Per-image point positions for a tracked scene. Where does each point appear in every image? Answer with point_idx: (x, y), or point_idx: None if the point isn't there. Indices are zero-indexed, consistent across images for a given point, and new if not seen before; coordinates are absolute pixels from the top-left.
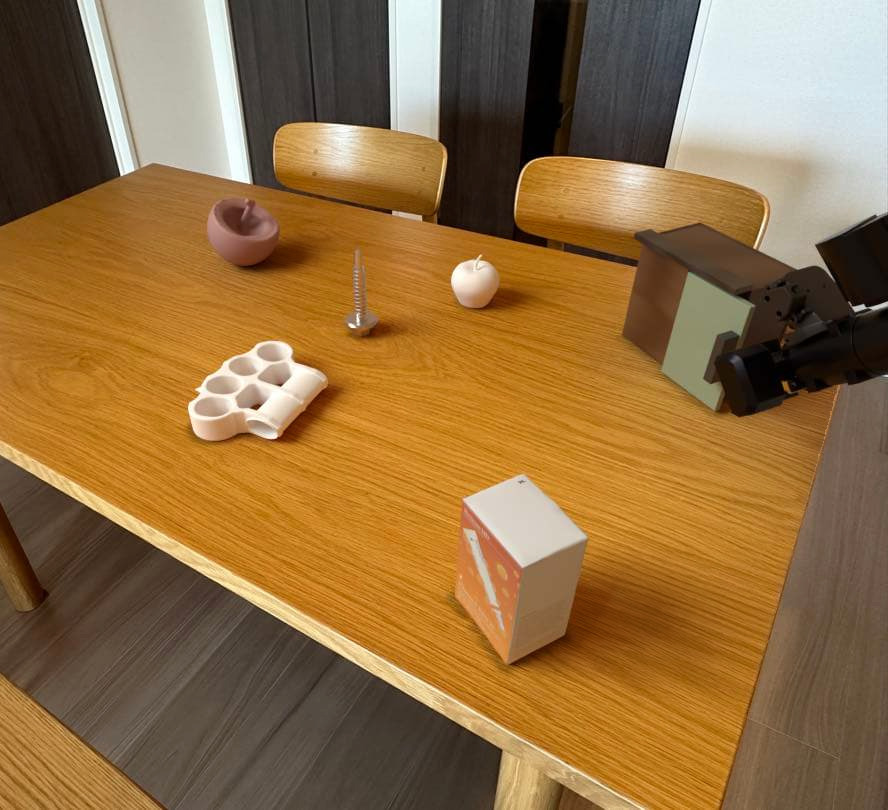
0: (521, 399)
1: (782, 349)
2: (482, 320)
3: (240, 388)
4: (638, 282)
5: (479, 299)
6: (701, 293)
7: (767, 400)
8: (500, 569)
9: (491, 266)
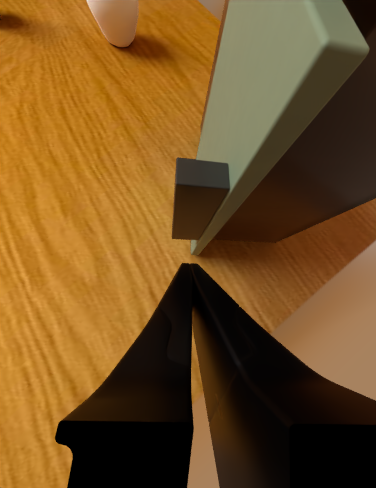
0: (31, 146)
1: (261, 407)
2: (106, 58)
3: None
4: (221, 29)
5: (106, 26)
6: (240, 4)
7: None
8: None
9: None
